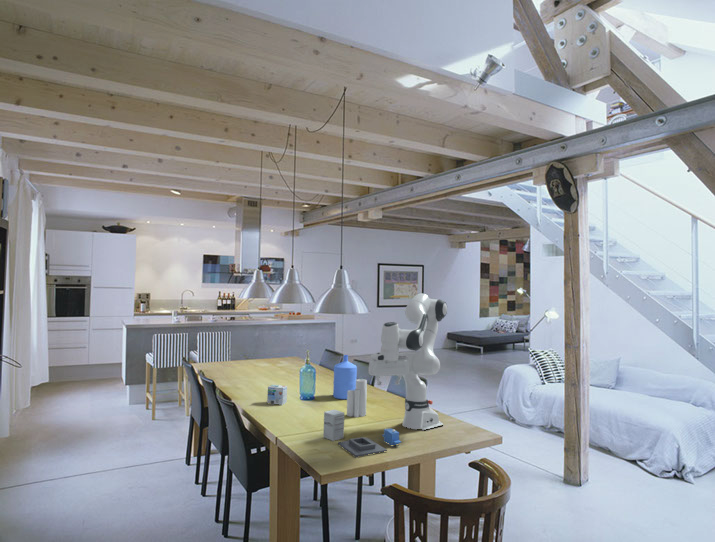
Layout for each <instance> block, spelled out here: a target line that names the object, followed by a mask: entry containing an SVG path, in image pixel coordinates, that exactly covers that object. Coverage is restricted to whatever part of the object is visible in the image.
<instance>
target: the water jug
mask: <svg viewBox="0 0 715 542" xmlns="http://www.w3.org/2000/svg"><path fill="white" fill-rule="evenodd" d="M342 359H343V361H341V362H339V363H336V364H335V365H334V366H333V382H332V383H333V389H332V390H333V391H332V396H333V398H335V399H339V400H345V399H346V400H347V391H349V390H355V389H356V380H357V375H358V374H357V373H358V367H357V365H355V364H353V363H352V362H351V361H349V355H348V354H344V355H343V358H342Z"/></svg>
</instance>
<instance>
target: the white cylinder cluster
mask: <svg viewBox="0 0 715 542" xmlns="http://www.w3.org/2000/svg"><path fill="white" fill-rule="evenodd" d="M367 389H368V380H367V379H363V378H358V379H357V378H356V389H355V390H349V391H347V399H346V417H354V418H359V417H366V416H367V397H368V396H367V395H368V393H367V391H368V390H367ZM365 415H366V416H365Z"/></svg>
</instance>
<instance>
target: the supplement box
mask: <svg viewBox="0 0 715 542" xmlns="http://www.w3.org/2000/svg"><path fill="white" fill-rule="evenodd" d="M344 433H345V412H343V411H340V410H337V409H331V410H326V411H324V412H323V435H322V436H323V438H324V439H326V440H330V441H332V442H335V440H336V441H338V440H339V441H340V440H342V439H344V436H345V435H344Z"/></svg>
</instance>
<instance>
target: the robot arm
mask: <svg viewBox="0 0 715 542" xmlns="http://www.w3.org/2000/svg"><path fill="white" fill-rule="evenodd" d="M404 314H405V318H406V319H407V321H409V322H410V323H412V324H413V325H416V328H414V329H403V328H400V327H399V323H397V322H394V321H390V322H385V323H384V324H382V327H381V334H380V341H381V342H380V343H381V346H380V351H377V352H374V353H372V354H371V355H370V361H369V363H368V375H370V376H372V377H374V378H375V380H376V382H377V383H376V384H377V386H382V383H383V382H382V381H381V380H380V377H383V376H385V377H386V376H397V379H396V380H395V381H394V384H395V386H400V382H401V379H402V378H403V380H404V382H405V398H404V408H405V410H404V417H403V421H402V426H403V427H404V428H406V427H407V429H410V428H411V429H410V430H417V429H422V430H421V431H424V430H426V429H430V428H434V427H437V426H440V425H443V426H444V423H443V422H442V421H440V417H439V414H438V412H436V411H435V410H434V409H433V408H432V407H431V406H430V405H433V400H431V399H427V391H428V388H427V385H426V383H425V382H424V381H423V380H421V378H420V377H419V375H423V376H433V375H436V374H438V373H439V371H440V369H441V361H440V359H439V358H438V357H437V356H436V354H435V352H434V347H435V342H436V338H437V336H438V332H439V322H442V320H443V319H444V318H445V317H446V316H447V315H448V304H447V302H446V301H445V300H444V299H436V298H430V297H429V296H428V295H427V294H426V293H417V294H416V295H415V296H413V298H411V299H410V301H409V302H408V303H407V305H406V307H405V310H404ZM399 349H401V350H409V351H413V352H408V351H406V352H400V350H399ZM414 351H418V352H414ZM434 429H435V428H434ZM430 430H431V429H430ZM426 431H427V430H426Z"/></svg>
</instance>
